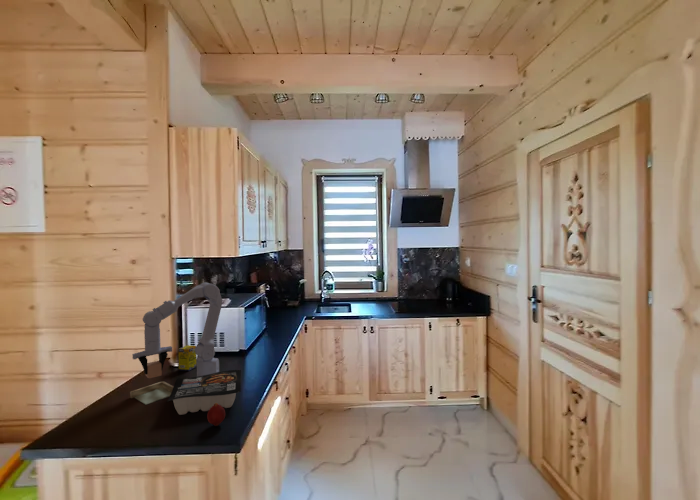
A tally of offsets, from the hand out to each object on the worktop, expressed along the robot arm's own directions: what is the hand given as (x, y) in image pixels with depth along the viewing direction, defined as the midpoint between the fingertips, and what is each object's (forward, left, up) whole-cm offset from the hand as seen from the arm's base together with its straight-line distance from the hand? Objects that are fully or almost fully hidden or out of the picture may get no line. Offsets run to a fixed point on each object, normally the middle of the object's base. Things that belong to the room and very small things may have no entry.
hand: (153, 371), depth 145 cm
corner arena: (-2, +4, -8) cm, 9 cm away
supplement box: (-6, -25, -9) cm, 27 cm away
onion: (-33, +33, -9) cm, 47 cm away
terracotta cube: (0, 0, -2) cm, 2 cm away
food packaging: (-25, +13, -9) cm, 30 cm away
